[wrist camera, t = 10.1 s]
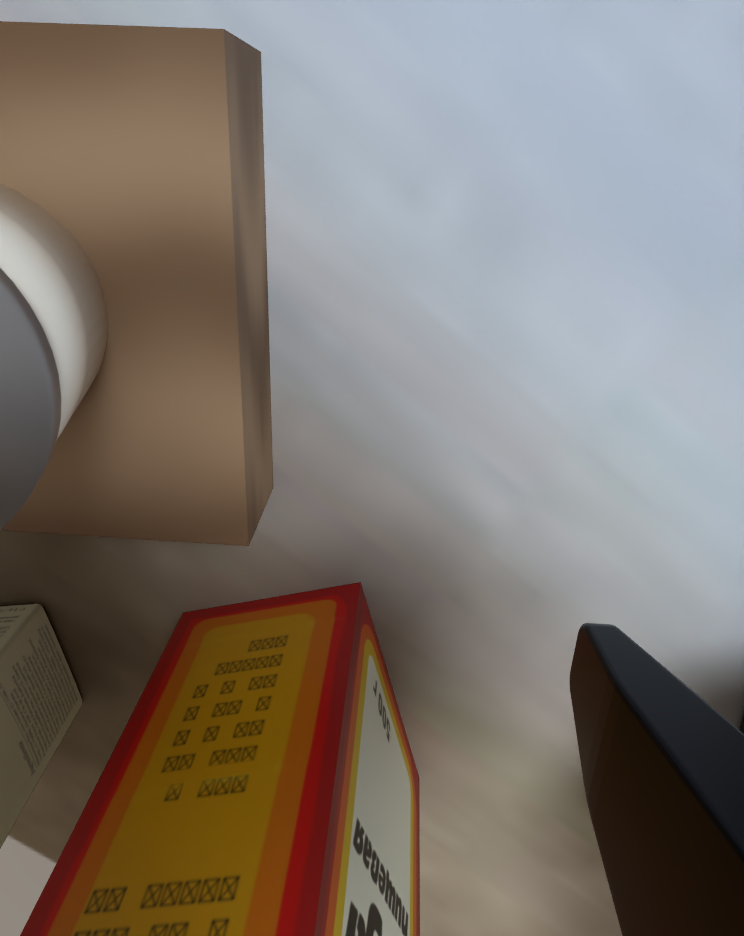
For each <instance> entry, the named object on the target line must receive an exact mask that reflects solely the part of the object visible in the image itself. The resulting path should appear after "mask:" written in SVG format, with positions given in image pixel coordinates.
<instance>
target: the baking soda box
mask: <svg viewBox="0 0 744 936" xmlns="http://www.w3.org/2000/svg"><path fill="white" fill-rule="evenodd" d="M20 936H420V853H419V775H418V772H417V769H416V765H415V762H414V759H413V755H412V752H411V749H410V745H409V742H408V739H407V735H406V732H405V729H404V725H403V722H402V719H401V715H400V712H399V709H398V705H397V702H396V699H395V695H394V692H393V689H392V685H391V682H390V679H389V675H388V672H387V669H386V665H385V662H384V659H383V655H382V652H381V649H380V645H379V642H378V639H377V635H376V632H375V629H374V625H373V622H372V619H371V615H370V612H369V609H368V605H367V602H366V599H365V595H364V592H363V589H362V585H361V582H360V583H354V584H348V585H342V586H336V587H330V588H325V589H319V590H313V591H307V592H301V593H295V594H290V595H284V596H278V597H272V598H266V599H260V600H254V601H249V602H243V603H237V604H231V605H225V606H219V607H214V608H208V609H202V610H196V611H190V612H184V613H183V614H182V616H181V618H180V620H179V622H178V624H177V626H176V628H175V630H174V632H173V634H172V636H171V638H170V640H169V642H168V644H167V646H166V648H165V650H164V652H163V654H162V656H161V658H160V660H159V662H158V664H157V666H156V668H155V670H154V672H153V674H152V676H151V678H150V679H149V681H148V683H147V685H146V687H145V689H144V691H143V693H142V695H141V697H140V699H139V701H138V703H137V705H136V707H135V709H134V711H133V713H132V715H131V717H130V719H129V721H128V723H127V725H126V727H125V729H124V731H123V733H122V735H121V737H120V739H119V741H118V743H117V745H116V747H115V749H114V751H113V753H112V755H111V757H110V759H109V761H108V763H107V765H106V767H105V769H104V771H103V773H102V775H101V777H100V779H99V781H98V783H97V784H96V786H95V788H94V790H93V792H92V794H91V796H90V798H89V800H88V802H87V804H86V806H85V808H84V810H83V812H82V814H81V816H80V818H79V820H78V822H77V824H76V826H75V828H74V830H73V832H72V834H71V836H70V838H69V840H68V842H67V844H66V846H65V848H64V850H63V852H62V854H61V856H60V858H59V860H58V862H57V864H56V866H55V868H54V870H53V872H52V874H51V876H50V878H49V880H48V882H47V884H46V886H45V888H44V889H43V891H42V893H41V896H40V897H39V900H38V901H37V903H36V906H35V907H34V909H33V911H32V913H31V915H30V917H29V920H28V921H27V923H26V925H25V927H24V929H23V931H22V933H21V935H20Z"/></svg>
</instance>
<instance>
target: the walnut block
mask: <svg viewBox="0 0 744 936" xmlns="http://www.w3.org/2000/svg"><path fill="white" fill-rule="evenodd" d="M0 184H2V185H5V186H7V187H9V188H11V189H13V190H15V191H17V192H19V193H21V194H22V195H24V196H26V197H27V198H29V199H31V200H32V201H34V202H35V203H36V204H38V205H39V206H40V207H42V208H43V209H44V210H46V211H47V212H48V213H50V214H51V215H52V216H53V217H54V218H55V219H56V220H57V221H58V222H59V223H60V224H61V225H62V226H63V227H64V228H65V229H66V230H67V231H68V232H69V233H70V235H71V236H72V237H73V238H74V239H75V241H76V242H77V243H78V244H79V246H80V247H81V249H82V250H83V252H84V253H85V255H86V256H87V258H88V260H89V262H90V264H91V265H92V267H93V269H94V271H95V273H96V275H97V278H98V281H99V284H100V286H101V289H102V292H103V296H104V300H105V305H106V310H107V321H108V333H107V344H106V349H105V354H104V358H103V361H102V364H101V366H100V369H99V372H98V374H97V375H96V377H95V379H94V381H93V383H92V385H91V386H90V388H89V389H88V391H87V393H86V394H85V396H84V397H83V399H82V401H81V402H80V404H79V405H78V407H77V409H76V410H75V412H74V413H73V415H72V417H71V418H70V420H69V421H68V423H67V425H66V426H65V428H64V430H63V431H62V433H61V434H60V436H59V438H58V439H57V442H56V445H55V448H54V451H53V453H52V456H51V459H50V461H49V463H48V465H47V467H46V469H45V470H44V472H43V474H42V476H41V478H40V480H39V481H38V483H37V485H36V486H35V488H34V490H33V491H32V493H31V494H30V496H29V498H28V499H27V501H26V502H25V503H24V505H23V506H22V507H21V508H20V510H19V511H18V512H17V514H16V515H15V516H14V517H13V518H12V519H11V520H10V521H9V522H8V523H7V524H6V525H5V526H4V527H3V528H2V529H1V530H5V531H21V532H36V533H52V534H68V535H84V536H100V537H115V538H131V539H147V540H163V541H179V542H194V543H210V544H226V545H242V546H249V544H250V541H251V539H252V537H253V534H254V532H255V530H256V527H257V525H258V522H259V520H260V518H261V515H262V513H263V511H264V508H265V506H266V504H267V501H268V499H269V496H270V494H271V492H272V489H273V461H272V426H271V390H270V355H269V320H268V285H267V250H266V215H265V179H264V144H263V109H262V74H261V52H260V51H258V50H257V49H255V48H254V47H252V46H250V45H249V44H247V43H246V42H244V41H242V40H241V39H239V38H237V37H236V36H234V35H233V34H231V33H229V32H228V31H226V30H225V29H206V28H176V27H147V26H118V25H89V24H60V23H31V22H2V21H0Z"/></svg>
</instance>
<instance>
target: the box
mask: <svg viewBox="0 0 744 936" xmlns="http://www.w3.org/2000/svg"><path fill="white" fill-rule="evenodd" d="M81 706H82V699H81V696H80V693H79V691H78V688H77V686H76V683H75V680H74V678H73V675H72V673H71V671H70V668H69V666H68V664H67V661H66V659H65V657H64V654H63V652H62V649H61V647H60V645H59V642H58V640H57V638H56V635H55V633H54V631H53V628H52V627H51V624H50V622H49V620H48V617H47V615H46V613H45V611H44V609H43V607H42V606H41V605H39V604H28V605H12V606H2V607H0V848H1V846H2V845H3V843H4V841H5V839H6V838H7V836H8V834H9V832H10V830H11V829H12V827H13V825H14V823H15V822H16V820H17V818H18V816H19V815H20V813H21V811H22V809H23V808H24V806H25V804H26V802H27V800H28V799H29V797H30V795H31V793H32V792H33V790H34V788H35V786H36V785H37V783H38V781H39V779H40V778H41V776H42V774H43V772H44V771H45V769H46V767H47V765H48V764H49V762H50V760H51V758H52V757H53V755H54V753H55V751H56V750H57V748H58V746H59V744H60V743H61V741H62V739H63V737H64V736H65V734H66V732H67V730H68V729H69V727H70V725H71V723H72V722H73V720H74V718H75V716H76V715H77V713H78V711H79V709H80V708H81Z"/></svg>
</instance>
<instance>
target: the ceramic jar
mask: <svg viewBox="0 0 744 936" xmlns="http://www.w3.org/2000/svg"><path fill="white" fill-rule="evenodd" d="M107 333H108V321H107V310H106V305H105V300H104V296H103V292H102V289H101V286H100V284H99V281H98V278H97V275H96V273H95V271H94V269H93V267H92V265H91V264H90V262H89V260H88V258H87V256H86V255H85V253H84V252H83V250H82V249H81V247H80V246H79V244H78V243H77V242H76V241H75V239H74V238H73V237H72V236H71V235H70V233H69V232H68V231H67V230H66V229H65V228H64V227H63V226H62V225H61V224H60V223H59V222H58V221H57V220H56V219H55V218H54V217H53V216H52V215H51V214H50V213H48V212H47V211H46V210H44V209H43V208H42V207H40V206H39V205H38V204H36V203H35V202H34V201H32V200H31V199H29V198H27V197H26V196H24V195H22V194H21V193H19V192H17V191H15V190H13V189H11V188H9V187H7V186H5V185H2V184H0V530H1V529H2V528H3V527H4V526H5V525H6V524H7V523H8V522H9V521H10V520H11V519H12V518H13V517H14V516H15V515H16V514H17V512H18V511H19V510H20V508H21V507H22V506H23V505H24V503H25V502H26V501H27V499H28V498H29V496H30V494H31V493H32V491H33V490H34V488H35V486H36V485H37V483H38V481H39V480H40V478H41V476H42V474H43V472H44V470H45V469H46V467H47V465H48V463H49V461H50V459H51V456H52V453H53V451H54V448H55V445H56V442H57V439H58V438H59V436H60V434H61V433H62V431H63V430H64V428H65V426H66V425H67V423H68V421H69V420H70V418H71V417H72V415H73V413H74V412H75V410H76V409H77V407H78V405H79V404H80V402H81V401H82V399H83V397H84V396H85V394H86V393H87V391H88V389H89V388H90V386H91V385H92V383H93V381H94V379H95V377H96V375H97V374H98V372H99V369H100V366H101V364H102V361H103V358H104V354H105V349H106V344H107Z"/></svg>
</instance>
